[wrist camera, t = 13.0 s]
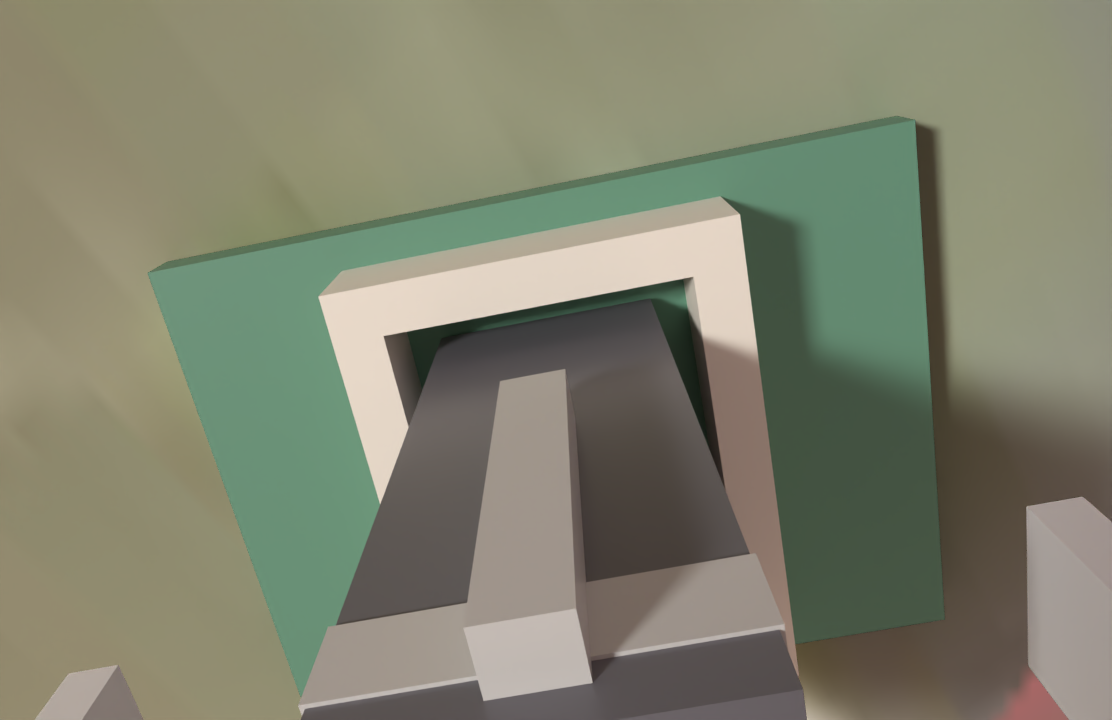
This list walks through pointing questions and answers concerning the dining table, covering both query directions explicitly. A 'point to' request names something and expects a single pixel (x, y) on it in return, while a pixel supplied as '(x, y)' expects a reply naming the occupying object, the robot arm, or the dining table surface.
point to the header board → (583, 284)
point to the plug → (556, 547)
